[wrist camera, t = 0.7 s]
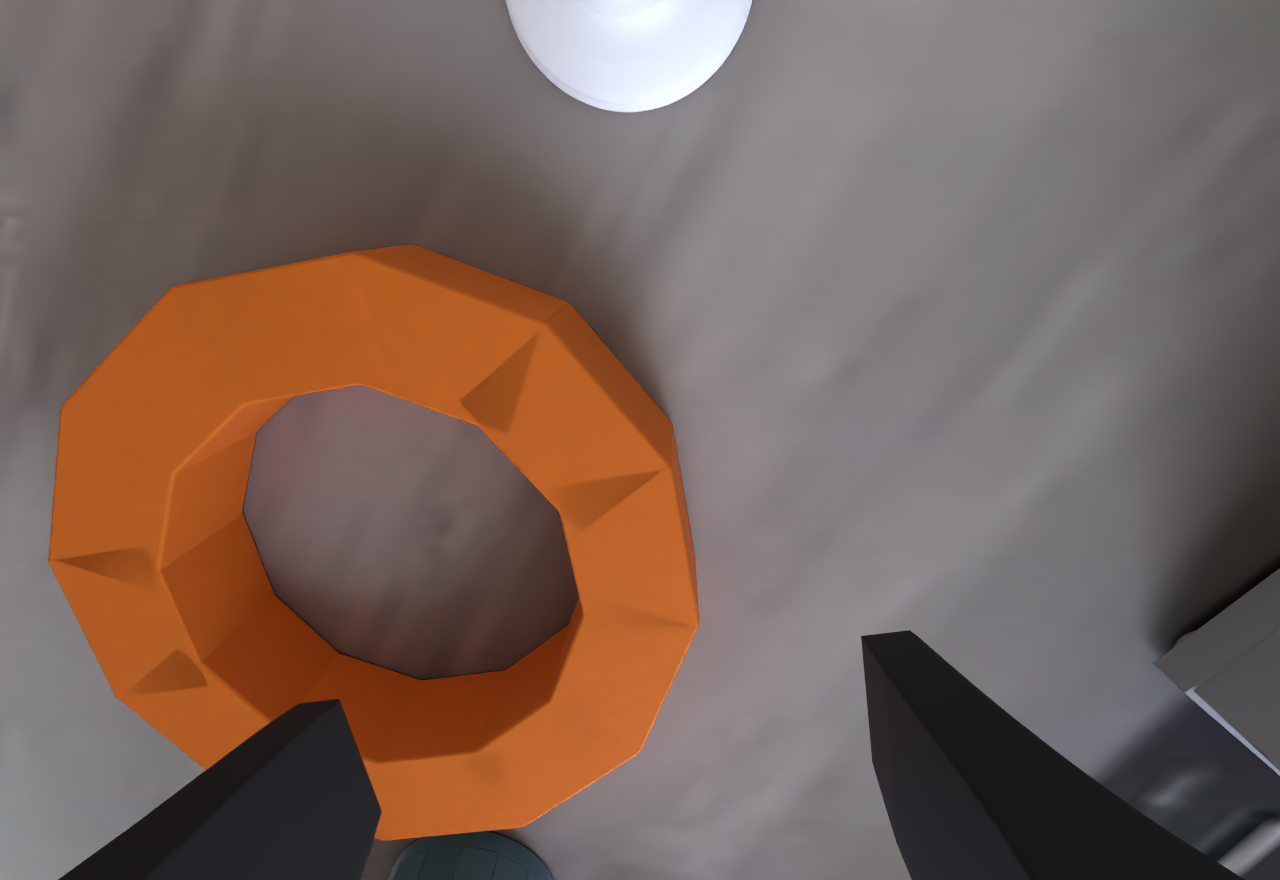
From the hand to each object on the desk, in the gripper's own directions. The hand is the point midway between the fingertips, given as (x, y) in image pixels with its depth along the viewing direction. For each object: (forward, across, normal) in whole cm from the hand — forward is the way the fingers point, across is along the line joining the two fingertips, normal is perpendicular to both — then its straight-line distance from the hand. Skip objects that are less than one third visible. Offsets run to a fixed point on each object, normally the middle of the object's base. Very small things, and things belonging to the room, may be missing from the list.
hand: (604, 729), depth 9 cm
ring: (+8, +6, 0) cm, 10 cm away
